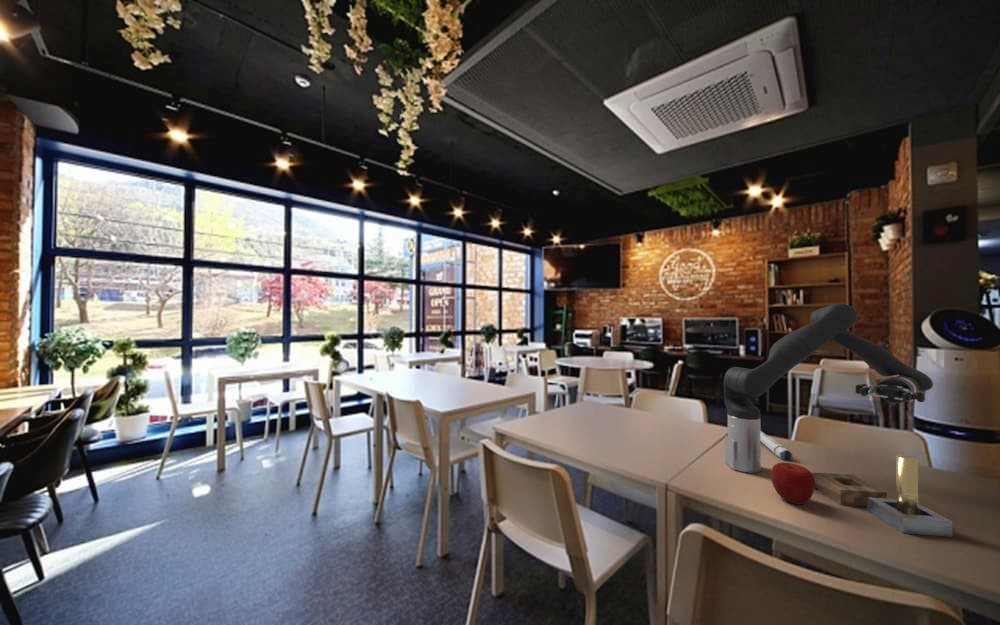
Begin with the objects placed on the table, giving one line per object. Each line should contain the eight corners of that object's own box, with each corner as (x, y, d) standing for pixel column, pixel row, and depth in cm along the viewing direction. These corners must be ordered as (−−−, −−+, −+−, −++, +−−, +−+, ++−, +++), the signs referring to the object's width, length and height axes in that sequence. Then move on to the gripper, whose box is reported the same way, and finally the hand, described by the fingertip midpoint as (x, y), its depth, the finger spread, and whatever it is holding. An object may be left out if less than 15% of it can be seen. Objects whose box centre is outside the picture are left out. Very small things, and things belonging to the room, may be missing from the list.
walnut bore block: (840, 504, 100) (840, 489, 100) (812, 485, 111) (812, 472, 111) (886, 507, 98) (886, 492, 98) (853, 488, 109) (853, 474, 109)
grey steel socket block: (903, 533, 87) (902, 518, 87) (867, 510, 97) (867, 497, 97) (952, 536, 85) (952, 521, 86) (911, 513, 95) (911, 499, 95)
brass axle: (905, 526, 90) (905, 460, 90) (892, 518, 93) (891, 454, 93) (922, 527, 89) (922, 461, 89) (908, 519, 93) (908, 455, 93)
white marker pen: (778, 449, 130) (742, 420, 155) (777, 467, 131) (741, 435, 156) (795, 450, 130) (755, 420, 154) (793, 468, 130) (754, 435, 155)
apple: (824, 511, 97) (824, 472, 97) (783, 508, 98) (783, 470, 98) (800, 493, 106) (800, 458, 106) (763, 491, 107) (763, 456, 108)
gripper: (866, 374, 123) (850, 378, 114) (931, 380, 111) (919, 386, 102) (865, 396, 123) (850, 402, 114) (931, 405, 111) (919, 413, 102)
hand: (883, 394), depth 108 cm, fingers open, 8 cm apart
